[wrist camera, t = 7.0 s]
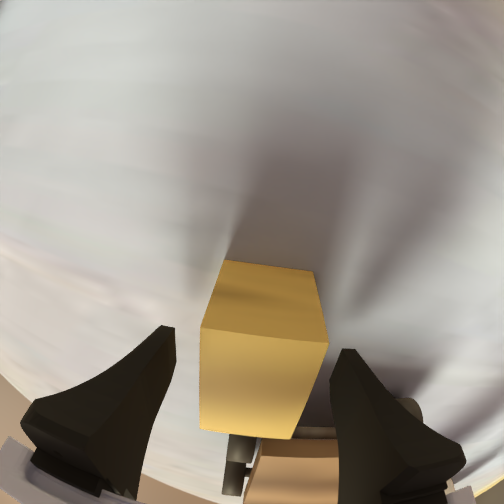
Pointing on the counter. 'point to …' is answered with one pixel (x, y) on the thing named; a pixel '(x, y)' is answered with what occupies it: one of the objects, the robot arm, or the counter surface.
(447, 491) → the container
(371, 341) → the counter surface
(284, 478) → the trolley
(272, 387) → the block
